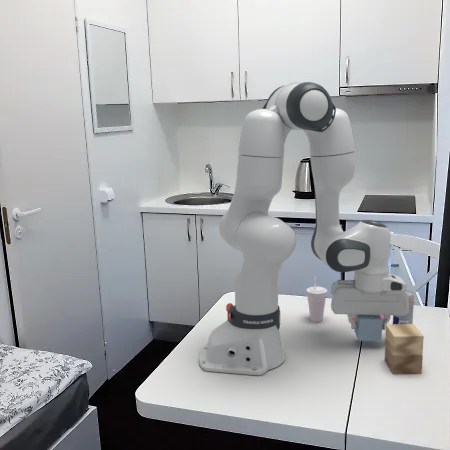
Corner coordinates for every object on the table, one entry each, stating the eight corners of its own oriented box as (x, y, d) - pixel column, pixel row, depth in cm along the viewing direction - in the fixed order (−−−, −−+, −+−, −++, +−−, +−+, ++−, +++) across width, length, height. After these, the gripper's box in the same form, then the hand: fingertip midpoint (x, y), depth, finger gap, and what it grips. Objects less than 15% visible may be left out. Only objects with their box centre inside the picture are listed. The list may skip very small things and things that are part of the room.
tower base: (392, 374, 126) (393, 355, 125) (384, 360, 133) (385, 342, 131) (421, 374, 126) (422, 355, 124) (412, 360, 132) (413, 342, 131)
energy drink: (396, 326, 152) (398, 288, 149) (414, 331, 149) (417, 292, 146) (389, 333, 148) (391, 293, 145) (407, 338, 145) (410, 297, 142)
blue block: (358, 340, 138) (359, 319, 137) (354, 331, 144) (355, 311, 143) (381, 341, 138) (382, 320, 137) (376, 332, 144) (377, 311, 143)
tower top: (393, 355, 125) (394, 336, 124) (385, 342, 132) (385, 324, 130) (422, 355, 125) (423, 336, 123) (412, 342, 131) (413, 324, 130)
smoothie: (309, 314, 163) (309, 272, 160) (329, 317, 160) (330, 274, 157) (303, 322, 157) (303, 278, 154) (323, 325, 155) (324, 280, 151)
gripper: (333, 283, 135) (331, 332, 138) (412, 285, 134) (408, 334, 137) (329, 276, 142) (327, 323, 144) (406, 277, 140) (402, 325, 143)
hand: (367, 328), depth 141 cm, fingers closed on blue block, 6 cm apart
